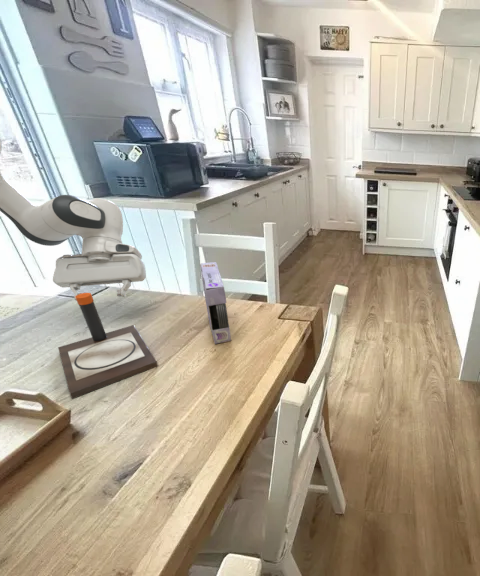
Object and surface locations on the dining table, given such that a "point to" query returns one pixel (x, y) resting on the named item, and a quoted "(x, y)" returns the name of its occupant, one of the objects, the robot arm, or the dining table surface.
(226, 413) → the dining table surface
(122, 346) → the picture frame
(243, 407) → the dining table surface
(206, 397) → the dining table surface
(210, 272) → the cake pan box
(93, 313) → the marker
